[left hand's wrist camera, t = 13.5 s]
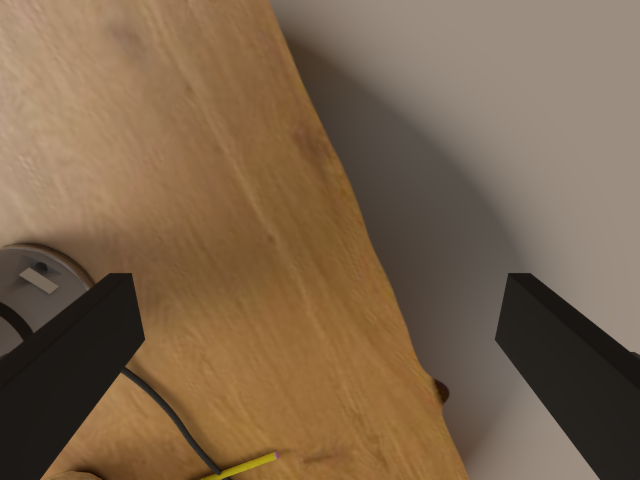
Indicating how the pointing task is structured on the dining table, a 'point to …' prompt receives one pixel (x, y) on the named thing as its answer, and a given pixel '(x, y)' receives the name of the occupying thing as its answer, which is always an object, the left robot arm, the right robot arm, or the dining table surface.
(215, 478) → the pencil
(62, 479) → the bowl
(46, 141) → the dining table surface
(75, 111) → the dining table surface
